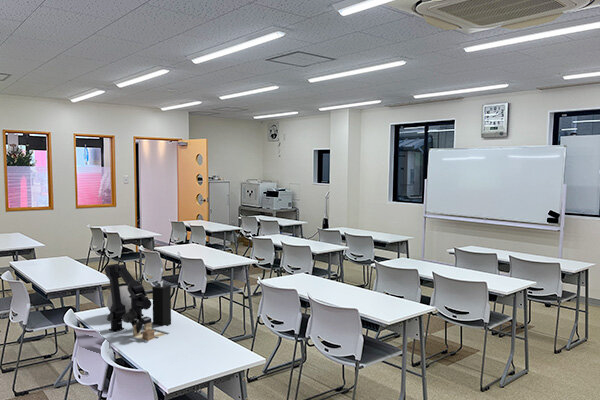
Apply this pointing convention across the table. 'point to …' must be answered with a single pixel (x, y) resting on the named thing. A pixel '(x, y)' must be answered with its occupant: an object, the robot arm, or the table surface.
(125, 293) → the moon model
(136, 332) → the tan piece
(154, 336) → the lane board
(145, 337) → the cube
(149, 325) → the strip broken
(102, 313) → the table surface
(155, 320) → the black rectangular block
